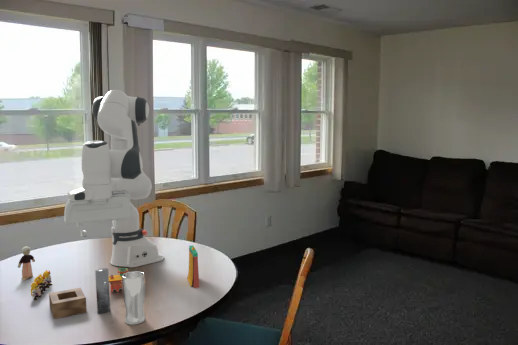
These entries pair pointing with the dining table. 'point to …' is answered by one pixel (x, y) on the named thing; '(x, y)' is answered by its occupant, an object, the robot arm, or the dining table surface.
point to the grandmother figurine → (26, 263)
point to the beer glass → (134, 296)
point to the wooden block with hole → (67, 303)
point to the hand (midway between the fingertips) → (99, 234)
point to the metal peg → (102, 290)
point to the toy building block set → (192, 277)
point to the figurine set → (40, 284)
